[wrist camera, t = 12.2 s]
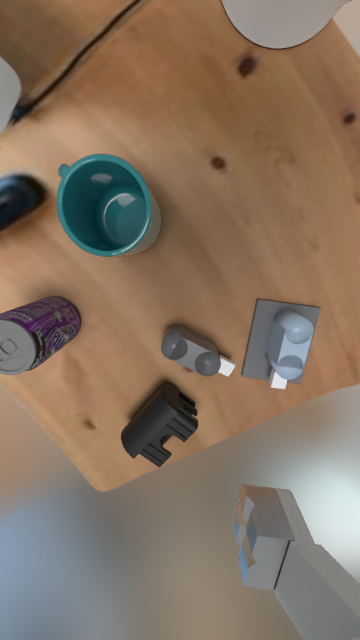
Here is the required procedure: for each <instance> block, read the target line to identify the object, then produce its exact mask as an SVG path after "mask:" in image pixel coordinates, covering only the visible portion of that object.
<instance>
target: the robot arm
mask: <svg viewBox="0 0 360 640" xmlns="http://www.w3.org/2000/svg"><path fill="white" fill-rule="evenodd" d="M349 1H351V0H222V3H223V6H224V8H225V10H226V13H227V15H228V17H229V18H230V20H231V21H232V23H233V24H234V26H235V27H236V28H237V29H238V30H239V31H240V32H241V34H243V35H244V36H245V37H246V38H248V39H249V40H251V41H252V42H254V43H256V44H258V45H261V46H264V47H269V48H287V47H292V46H295V45H298V44H300V43H303V42H305V41H307V40H308V39H310V38H311V37H313V36H314V35H316V34H317V33H318V32H319V31H320V30H321V29H322V28H323V27H324V26H325V25H326V24H327V23H328V22H329V21H330V20H331V18H332V17H333V16H334V15H335V13H336V12H337V11H338V10H339V9H340V8H341V7H342V6H343V5H344V4H346V3H347V2H349ZM239 499H240V502H239V503H238V504H237V505H236V506H235V512H234V534H235V540H236V542H237V544H238V545H239V547H240V548H241V551H240V555H239V563H240V569H241V574H242V580H243V585H244V586H247V587H254V588H260V589H267V590H274V593H275V595H276V596H277V598H278V600H279V601H280V603H281V604H282V606H283V607H284V609H285V611H286V612H287V614H288V615H289V617H290V618H291V620H292V621H293V623H294V625H295V626H296V628H297V629H298V631H299V632H300V634H301V636H302V637H303V639H304V640H360V584H359V583H358V582H357V581H356V580H355V579H354V578H353V577H352V576H351V575H350V574H349V573H348V572H347V571H346V570H345V569H344V568H343V567H342V566H341V565H340V564H339V563H338V562H337V561H336V560H335V559H334V558H333V557H332V556H331V555H330V554H329V553H328V552H327V551H326V550H325V549H324V548H323V547H322V546H321V545H318V544H315V543H314V540H313V538H312V536H311V534H310V532H309V529H308V527H307V525H306V523H305V520H304V518H303V516H302V514H301V512H300V509H299V507H298V505H297V503H296V500H295V498H294V496H293V494H292V492H291V491H290V490H288V489H279V488H270V487H261V486H253V485H244V484H242V485H241V487H240V490H239Z"/></svg>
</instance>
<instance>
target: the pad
mask: <svg viewBox="0 0 360 640" xmlns="http://www.w3.org/2000/svg"><path fill="white" fill-rule="evenodd" d="M283 309H289V310H292V311H293V312H295V313H297V314H299V315H301V316H302V317H304V318H306V319H308V320H309V321H310V322H311V323H312V325H313V329H314V330H313V334H314V331H315V327H316V324H317V320H318V316H319V313H320V309H321V308H319V307H314V306H306V305H299V304H291V303H284V302H276V301H269V300H261V299H257V301H256V306H255V311H254V316H253V321H252V325H251V330H250V335H249V340H248V345H247V349H246V354H245V359H244V364H243V368H242V373H241V375H242V376H243V377H250V378H258V379H266V380H269V379H270V375H271V371H272V368H273V367H272V365H271V364H270V363H269V361H268V360H267V359H266V356H265V352H266V348H267V343H268V339H269V335H270V330H271V326H272V322H273V318H274V316H275V314H276V313H277V312H279V311H280V310H283ZM312 338H313V335H312ZM311 342H312V339H311ZM311 342H310V345H311ZM309 349H310V346H309ZM308 353H309V350H308ZM308 353H307V356H308ZM306 360H307V357H306ZM305 364H306V361H305ZM305 364H304V367H305ZM303 371H304V368H303ZM303 371H302V373H301V374H300V375H299V376H298V377H297V378H295V379H291V380H287V382H289V383H297V384H300V382H301V378H302V375H303Z"/></svg>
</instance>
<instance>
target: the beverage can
mask: <svg viewBox="0 0 360 640" xmlns="http://www.w3.org/2000/svg"><path fill="white" fill-rule="evenodd" d="M79 328H80V319H79V315H78V313H77V311H76V309H75V308H74V307H73V306H72V305H71V304H70V303H69V302H68V301H66V300H64V299H62V298H58V297H48V298H44V299H41V300H38V301H36V302H33V303H30V304H27V305H24V306H21V307H18V308H15V309H12V310H9V311H6V312H4V313H1V314H0V373H1V374H5V375H16V374H20V373H22V372H24V371H29V370H32V369H34V368H36V367H38V366H39V365H40V364H42V363H43V362H44V361H46V360H47V359H48V358H49V357H51V356H52V355H53V354H54V353H56V352H57V351H58V350H60V349H61V348H62V347H63V346H65V345H66V344H67V343H68V342H70V341H71V340H72V339H73V338H74V337H75V336H76V335H77V333H78V331H79Z"/></svg>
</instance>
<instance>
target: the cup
mask: <svg viewBox="0 0 360 640" xmlns="http://www.w3.org/2000/svg"><path fill="white" fill-rule="evenodd" d="M58 174H59V175H60V176H61V178H62V180H61V182H60V185H59V188H58V192H57V211H58V216H59V219H60V222H61V225H62V227H63V229H64V230H65V232H66V234H67V235H68V236H69V238H70V239H71V240H72V241H73V242H74V243H75V244H76V245H77V246H79V247H80V248H81V249H83V250H85V251H87V252H89V253H91V254H94V255H97V256H103V257H113V256H124V255H134V254H138V253H141V252H143V251H145V250H146V249H148V248H149V247H150V246H151V245H152V244H153V243H154V242H155V240H156V239H157V237H158V235H159V232H160V228H161V212H160V209H159V206H158V203H157V201H156V200H155V198H154V196H153V194H152V193H151V191H150V189H149V188H148V186H147V184H146V182H145V181H144V179H143V178H142V176H141V175H140V173H139V172H138V171H137V170H136V169H135V168H134V167H133V166H132V165H130V164H129V163H128V162H126V161H125V160H123V159H121V158H118V157H116V156H112V155H108V154H94V155H90V156H86V157H84V158H82V159H80V160H78V161H77V162H75V163H74V164H73V165H72V166H71V167H70V166H69V165H68V164H66V163H63V164H61V165H60V166H59V168H58Z"/></svg>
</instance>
